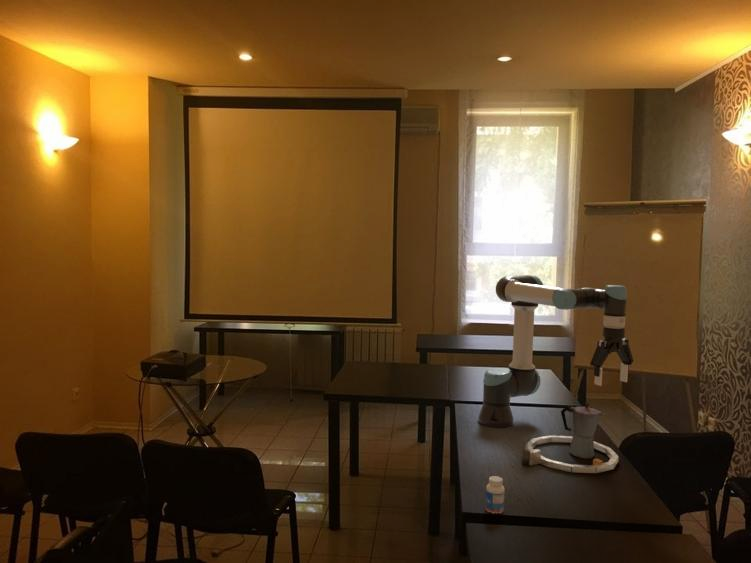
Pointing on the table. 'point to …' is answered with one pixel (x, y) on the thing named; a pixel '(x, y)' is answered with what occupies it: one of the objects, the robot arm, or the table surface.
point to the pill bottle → (495, 495)
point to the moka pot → (582, 429)
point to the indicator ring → (535, 457)
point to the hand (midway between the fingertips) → (610, 383)
